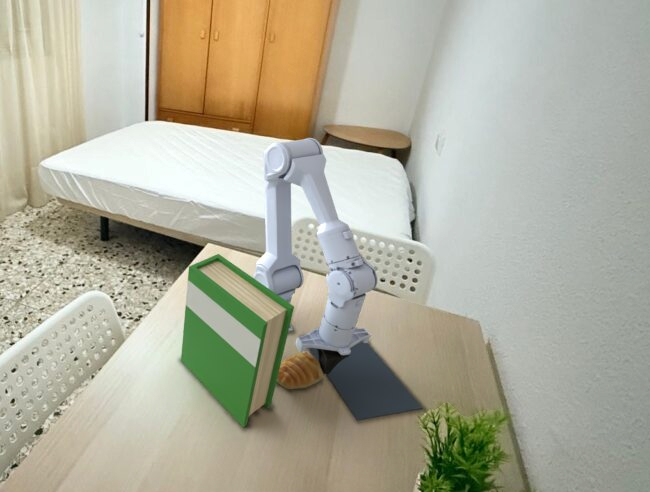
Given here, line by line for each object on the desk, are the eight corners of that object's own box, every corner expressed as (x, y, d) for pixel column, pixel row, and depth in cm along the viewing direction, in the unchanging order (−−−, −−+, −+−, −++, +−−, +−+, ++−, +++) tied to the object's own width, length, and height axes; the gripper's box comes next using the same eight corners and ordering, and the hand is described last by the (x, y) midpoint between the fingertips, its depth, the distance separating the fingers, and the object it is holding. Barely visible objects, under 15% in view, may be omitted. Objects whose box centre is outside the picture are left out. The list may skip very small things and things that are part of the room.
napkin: (301, 337, 91) (301, 337, 91) (356, 330, 93) (356, 329, 93) (357, 420, 73) (357, 419, 73) (422, 408, 76) (422, 407, 76)
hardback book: (270, 405, 75) (294, 306, 65) (243, 427, 71) (263, 325, 61) (207, 345, 88) (218, 253, 77) (180, 360, 84) (188, 266, 73)
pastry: (291, 400, 76) (295, 386, 75) (266, 374, 82) (269, 360, 80) (324, 380, 81) (328, 366, 79) (298, 356, 86) (302, 343, 84)
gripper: (316, 339, 70) (301, 392, 76) (388, 329, 73) (368, 381, 79) (296, 311, 76) (283, 362, 82) (363, 303, 79) (346, 353, 85)
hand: (324, 370), depth 81 cm, fingers closed
